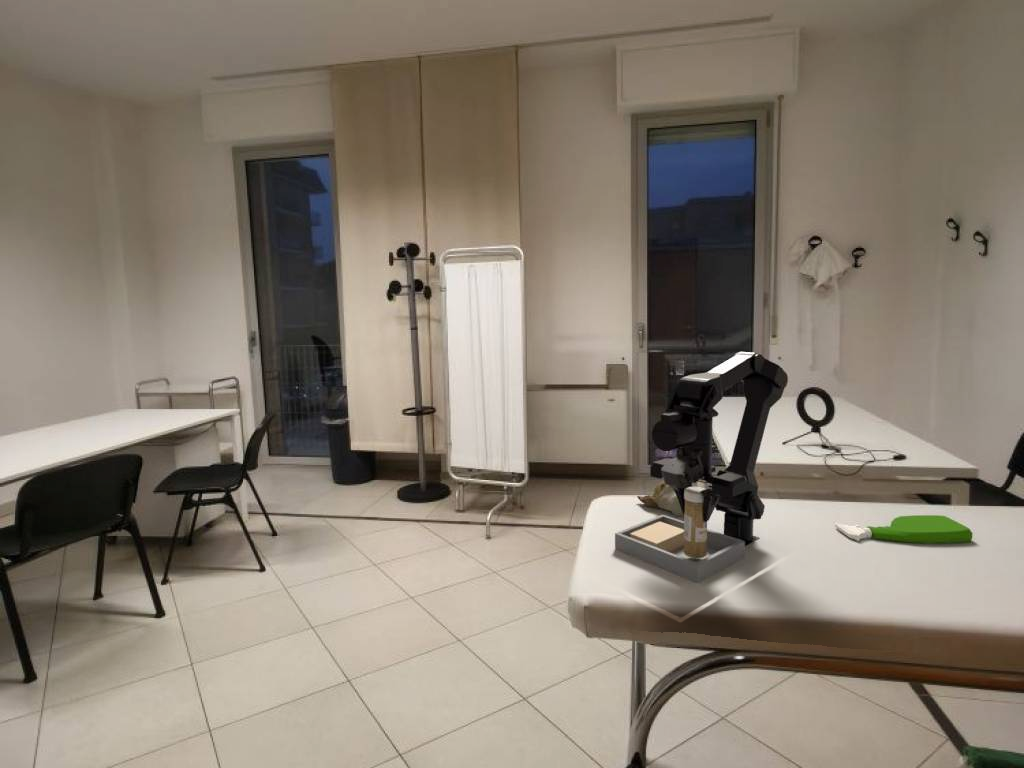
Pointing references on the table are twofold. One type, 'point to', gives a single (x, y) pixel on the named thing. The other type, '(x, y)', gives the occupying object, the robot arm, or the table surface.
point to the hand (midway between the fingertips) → (695, 518)
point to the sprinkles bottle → (694, 524)
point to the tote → (718, 551)
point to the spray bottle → (913, 530)
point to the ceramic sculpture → (663, 499)
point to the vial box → (660, 536)
